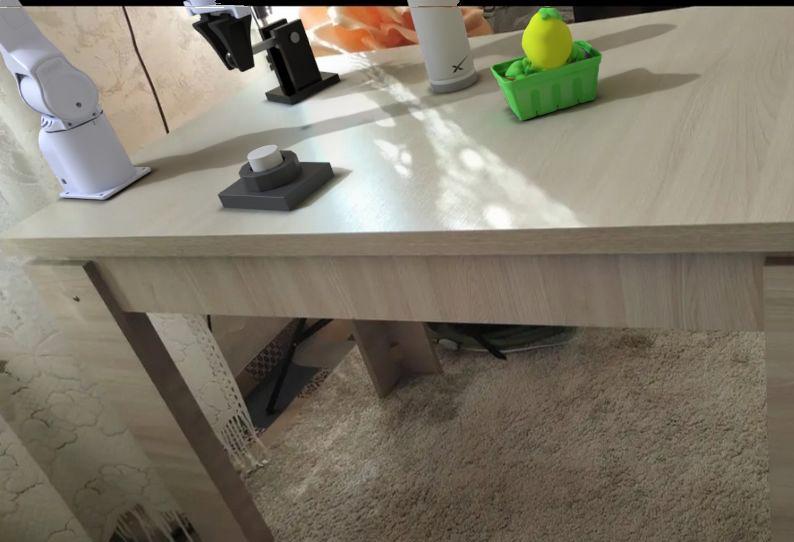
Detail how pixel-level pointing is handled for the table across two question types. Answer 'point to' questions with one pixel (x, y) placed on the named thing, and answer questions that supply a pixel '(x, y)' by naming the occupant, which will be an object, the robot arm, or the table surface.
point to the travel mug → (443, 44)
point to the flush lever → (256, 48)
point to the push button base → (276, 184)
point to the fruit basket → (548, 68)
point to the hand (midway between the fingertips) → (241, 68)
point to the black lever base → (294, 63)
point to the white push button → (265, 158)
